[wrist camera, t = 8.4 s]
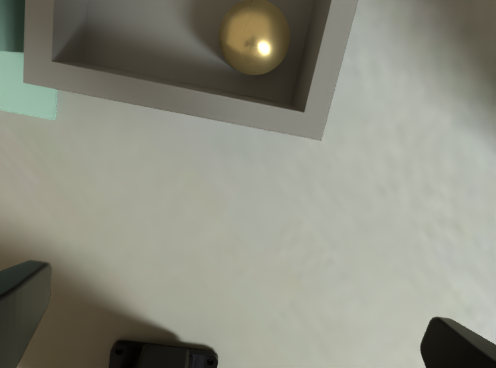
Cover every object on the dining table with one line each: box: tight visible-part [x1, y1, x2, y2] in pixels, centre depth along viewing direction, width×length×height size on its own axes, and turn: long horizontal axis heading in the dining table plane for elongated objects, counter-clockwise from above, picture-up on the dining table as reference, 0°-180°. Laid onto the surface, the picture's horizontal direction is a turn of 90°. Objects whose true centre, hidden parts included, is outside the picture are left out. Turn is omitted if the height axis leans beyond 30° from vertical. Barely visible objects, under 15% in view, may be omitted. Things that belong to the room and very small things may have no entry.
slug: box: [219, 0, 290, 75], centre depth 17 cm, size 3×3×2 cm
